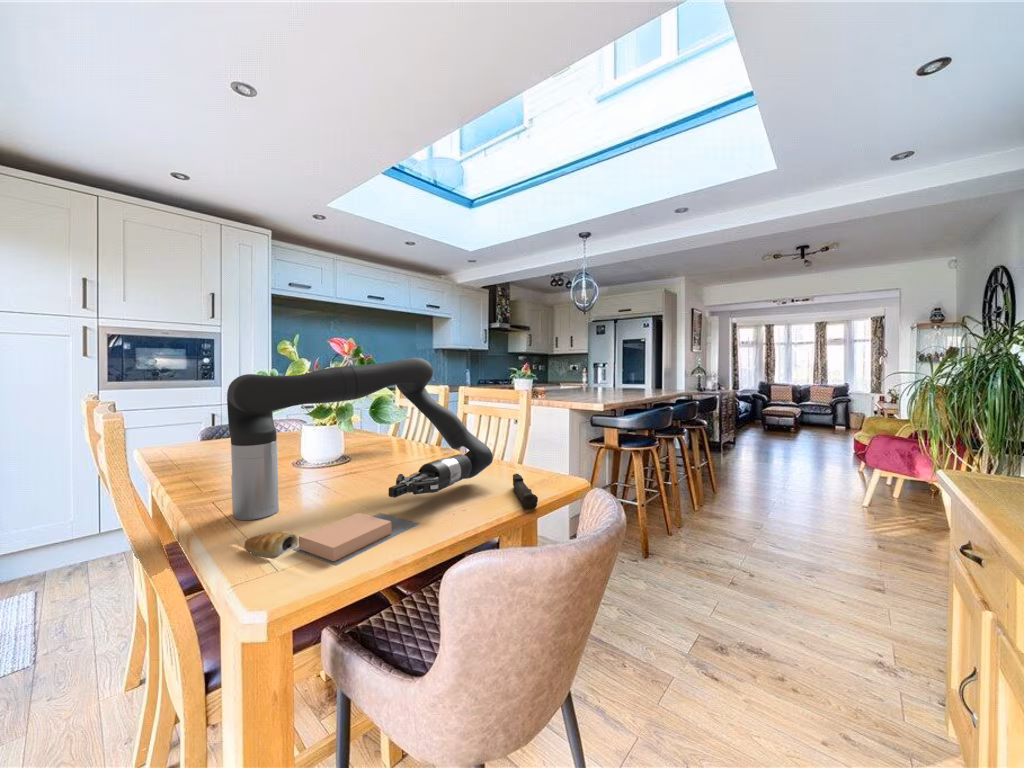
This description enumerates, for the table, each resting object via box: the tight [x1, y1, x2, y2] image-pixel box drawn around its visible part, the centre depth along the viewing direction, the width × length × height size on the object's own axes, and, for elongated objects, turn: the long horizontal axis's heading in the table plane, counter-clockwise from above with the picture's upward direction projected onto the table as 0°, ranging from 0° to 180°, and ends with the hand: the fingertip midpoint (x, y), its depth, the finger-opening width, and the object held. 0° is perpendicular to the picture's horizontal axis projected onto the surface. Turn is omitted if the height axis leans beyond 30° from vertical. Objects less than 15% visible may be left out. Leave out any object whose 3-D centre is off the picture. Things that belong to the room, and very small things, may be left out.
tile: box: [298, 512, 392, 561], centre depth 83 cm, size 10×3×14 cm
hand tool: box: [512, 473, 539, 511], centre depth 112 cm, size 19×4×5 cm, turn 9°
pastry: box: [243, 530, 299, 559], centre depth 80 cm, size 9×7×4 cm
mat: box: [292, 512, 421, 566], centre depth 86 cm, size 12×22×1 cm, turn 151°
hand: (391, 493), depth 93 cm, fingers closed
